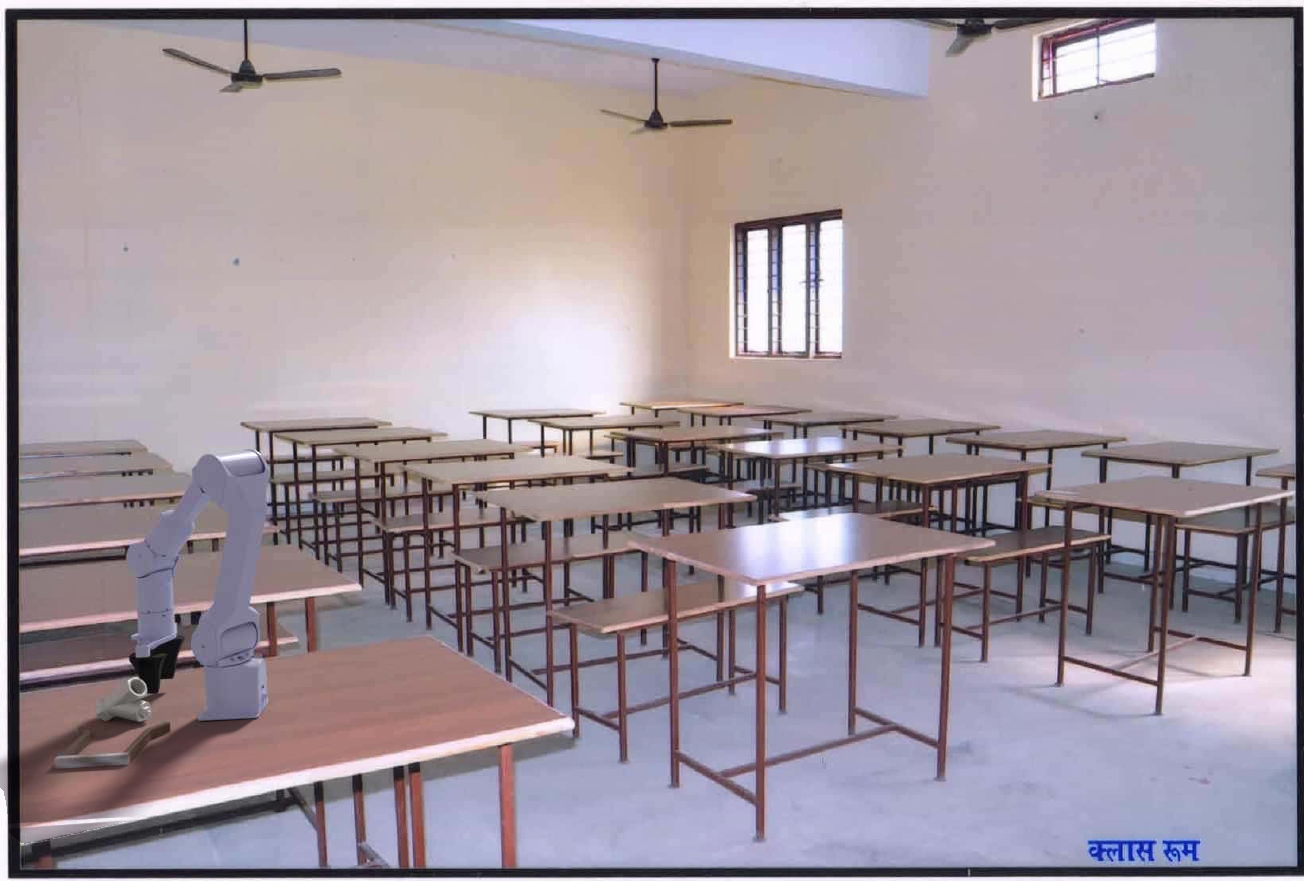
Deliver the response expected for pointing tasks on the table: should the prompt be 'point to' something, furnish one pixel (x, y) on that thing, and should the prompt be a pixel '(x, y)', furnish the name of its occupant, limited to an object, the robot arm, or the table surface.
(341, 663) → the table surface
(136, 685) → the pipe fitting
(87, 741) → the angular open frame
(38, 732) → the table surface
